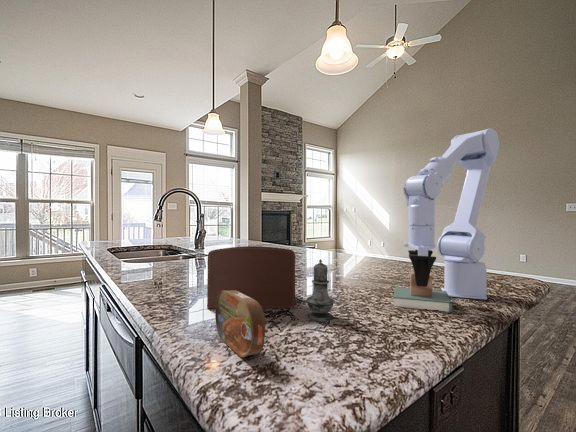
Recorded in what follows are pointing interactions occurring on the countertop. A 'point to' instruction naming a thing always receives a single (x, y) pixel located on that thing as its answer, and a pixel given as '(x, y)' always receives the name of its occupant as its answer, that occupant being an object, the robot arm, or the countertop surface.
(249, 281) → the letter holder
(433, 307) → the book
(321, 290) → the salt shaker
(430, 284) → the block
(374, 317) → the countertop surface
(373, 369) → the countertop surface
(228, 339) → the tin
